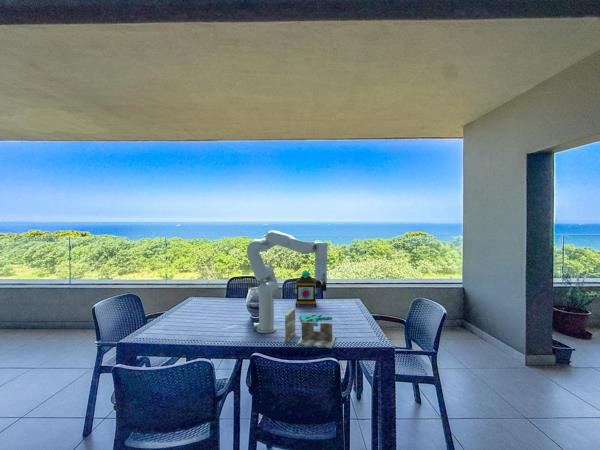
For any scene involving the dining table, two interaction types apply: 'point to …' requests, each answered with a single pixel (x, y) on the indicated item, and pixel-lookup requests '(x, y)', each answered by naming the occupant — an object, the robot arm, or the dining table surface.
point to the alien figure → (313, 318)
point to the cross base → (317, 343)
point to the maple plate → (289, 325)
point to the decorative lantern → (306, 290)
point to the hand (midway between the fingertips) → (320, 289)
